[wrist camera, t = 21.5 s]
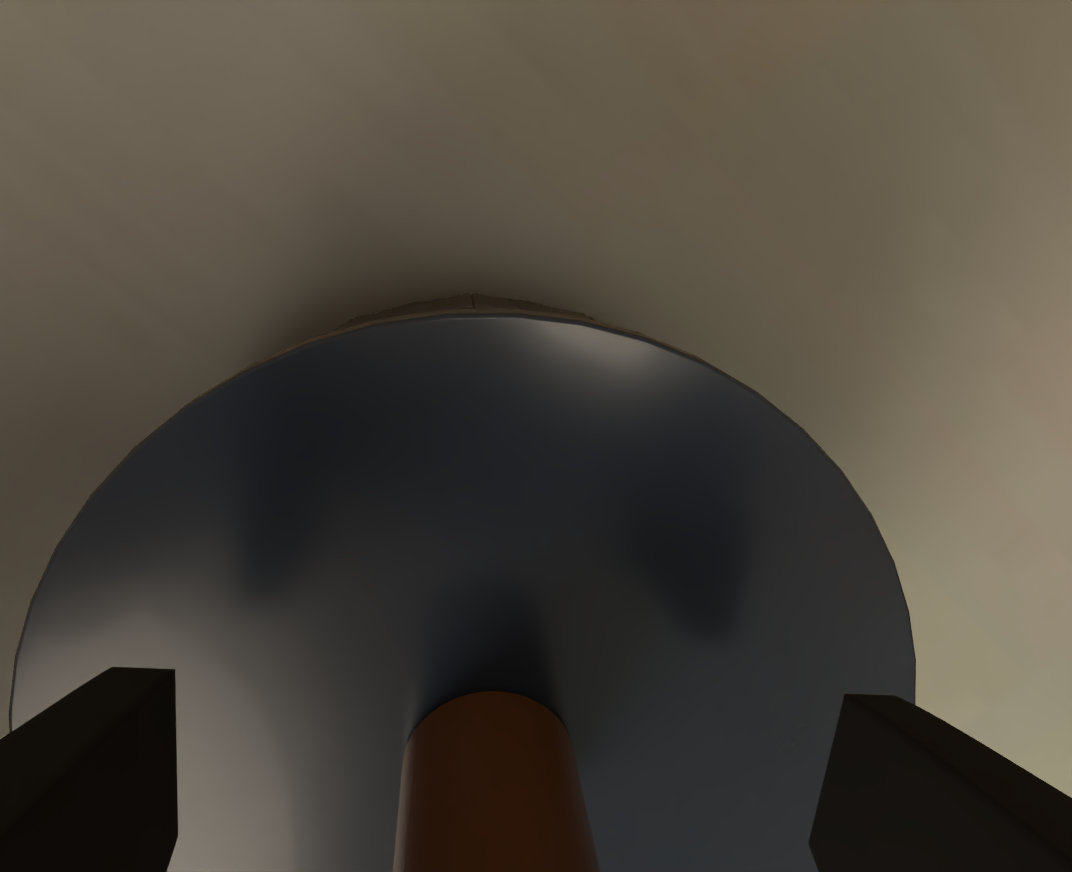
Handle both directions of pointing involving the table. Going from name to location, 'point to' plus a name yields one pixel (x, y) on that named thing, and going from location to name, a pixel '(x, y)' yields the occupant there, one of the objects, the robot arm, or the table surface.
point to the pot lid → (481, 605)
